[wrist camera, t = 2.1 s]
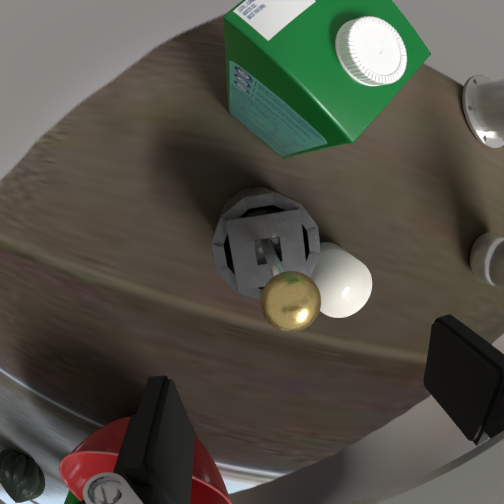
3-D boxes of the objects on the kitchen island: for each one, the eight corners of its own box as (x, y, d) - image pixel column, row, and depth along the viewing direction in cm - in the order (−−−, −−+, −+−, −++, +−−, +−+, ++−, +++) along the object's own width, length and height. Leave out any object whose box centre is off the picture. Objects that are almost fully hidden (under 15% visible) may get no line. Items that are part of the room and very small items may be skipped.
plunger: (289, 205, 30) (352, 244, 14) (297, 264, 31) (355, 352, 15) (227, 215, 30) (222, 266, 14) (238, 274, 31) (244, 374, 15)
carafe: (288, 182, 38) (315, 187, 25) (300, 274, 41) (327, 317, 28) (212, 194, 37) (203, 205, 25) (229, 286, 41) (228, 335, 28)
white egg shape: (346, 237, 40) (371, 253, 32) (349, 286, 42) (372, 310, 34) (295, 246, 40) (310, 264, 32) (301, 296, 42) (315, 323, 34)
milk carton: (283, 159, 37) (371, 141, 13) (227, 111, 35) (221, 15, 11) (329, 109, 36) (453, 43, 11) (275, 63, 34) (333, -62, 9)
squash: (-7, 443, 42) (-16, 487, 33) (43, 473, 45) (34, 517, 36) (10, 439, 53) (1, 479, 44) (54, 464, 56) (45, 503, 48)
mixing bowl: (108, 470, 50) (92, 521, 35) (68, 375, 43) (30, 433, 28) (234, 482, 52) (236, 540, 37) (231, 388, 45) (232, 465, 30)
